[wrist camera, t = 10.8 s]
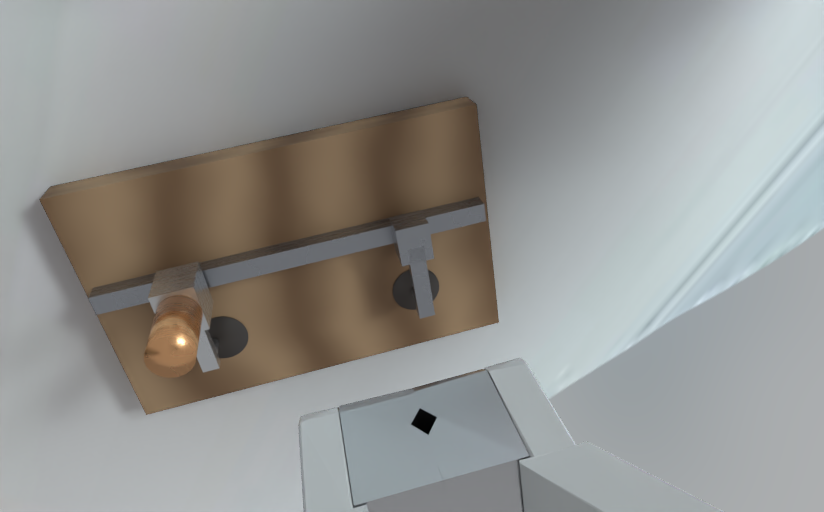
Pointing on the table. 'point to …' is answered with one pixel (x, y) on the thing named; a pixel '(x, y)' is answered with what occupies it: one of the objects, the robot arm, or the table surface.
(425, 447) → the robot arm
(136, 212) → the brown wooden board
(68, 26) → the table surface
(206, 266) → the bar
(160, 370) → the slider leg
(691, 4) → the table surface
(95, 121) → the table surface
